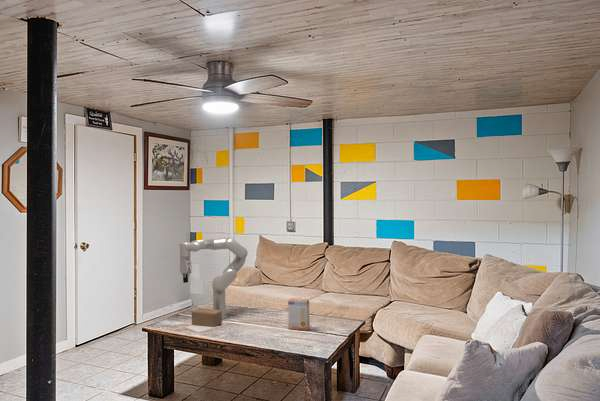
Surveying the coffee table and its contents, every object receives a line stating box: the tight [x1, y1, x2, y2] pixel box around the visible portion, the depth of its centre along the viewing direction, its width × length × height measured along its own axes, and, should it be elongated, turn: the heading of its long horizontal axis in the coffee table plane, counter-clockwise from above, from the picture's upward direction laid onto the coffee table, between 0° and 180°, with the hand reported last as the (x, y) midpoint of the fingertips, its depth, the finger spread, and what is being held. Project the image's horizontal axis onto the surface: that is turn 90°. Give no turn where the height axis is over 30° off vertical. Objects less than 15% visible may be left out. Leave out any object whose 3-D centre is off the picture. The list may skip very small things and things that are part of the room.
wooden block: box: [191, 307, 223, 327], centre depth 320 cm, size 10×10×20 cm
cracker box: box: [287, 298, 311, 332], centre depth 308 cm, size 14×6×21 cm, turn 71°
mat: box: [184, 324, 221, 334], centre depth 314 cm, size 18×18×1 cm
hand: (185, 282), depth 332 cm, fingers closed
